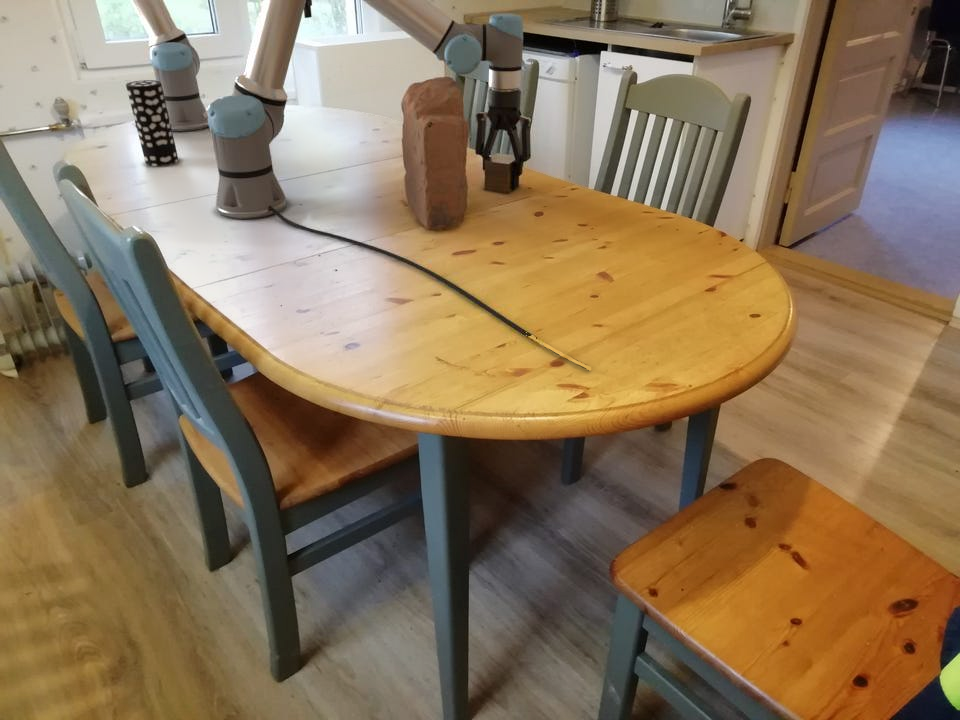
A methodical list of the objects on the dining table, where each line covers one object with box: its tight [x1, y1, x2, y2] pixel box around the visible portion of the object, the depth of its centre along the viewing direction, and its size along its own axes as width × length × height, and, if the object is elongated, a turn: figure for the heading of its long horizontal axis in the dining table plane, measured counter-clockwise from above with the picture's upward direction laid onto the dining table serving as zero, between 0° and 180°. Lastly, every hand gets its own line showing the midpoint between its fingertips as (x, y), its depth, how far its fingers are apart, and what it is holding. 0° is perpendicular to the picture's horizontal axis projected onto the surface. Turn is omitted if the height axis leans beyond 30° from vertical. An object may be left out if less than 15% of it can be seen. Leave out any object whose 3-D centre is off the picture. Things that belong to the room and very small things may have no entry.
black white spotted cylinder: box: [125, 79, 179, 167], centre depth 181 cm, size 8×8×20 cm
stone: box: [400, 76, 469, 231], centre depth 148 cm, size 22×11×28 cm, turn 18°
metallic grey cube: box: [483, 152, 515, 194], centre depth 170 cm, size 6×7×7 cm
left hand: (291, 16), depth 222 cm, fingers open, 13 cm apart
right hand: (501, 185), depth 172 cm, fingers closed on metallic grey cube, 6 cm apart
